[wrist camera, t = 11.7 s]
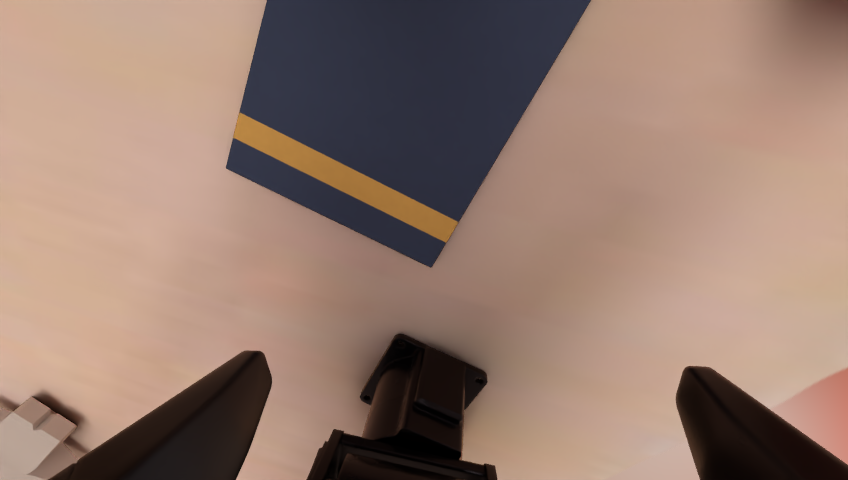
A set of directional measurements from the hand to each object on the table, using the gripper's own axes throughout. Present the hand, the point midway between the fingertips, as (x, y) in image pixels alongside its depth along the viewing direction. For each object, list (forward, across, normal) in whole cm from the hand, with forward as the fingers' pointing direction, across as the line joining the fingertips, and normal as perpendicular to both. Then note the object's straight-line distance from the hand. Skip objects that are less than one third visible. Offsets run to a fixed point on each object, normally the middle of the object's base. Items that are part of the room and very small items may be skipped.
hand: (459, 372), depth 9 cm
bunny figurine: (+13, +39, +23) cm, 47 cm away
